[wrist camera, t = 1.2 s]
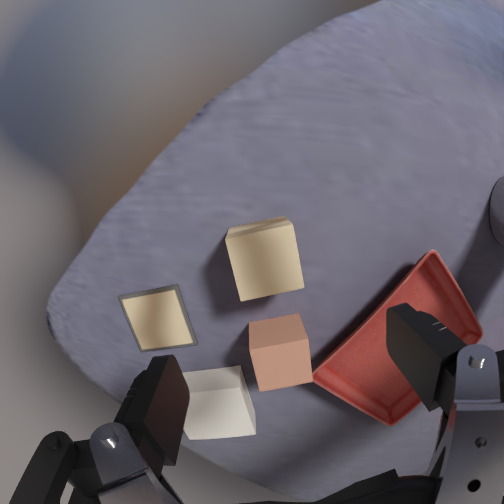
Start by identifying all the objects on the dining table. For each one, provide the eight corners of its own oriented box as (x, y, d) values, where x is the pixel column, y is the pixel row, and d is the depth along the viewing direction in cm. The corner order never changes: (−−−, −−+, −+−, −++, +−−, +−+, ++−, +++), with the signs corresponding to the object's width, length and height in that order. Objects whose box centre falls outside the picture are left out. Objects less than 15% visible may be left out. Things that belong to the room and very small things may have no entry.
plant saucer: (472, 324, 29) (486, 334, 26) (383, 414, 32) (391, 429, 29) (416, 238, 26) (433, 245, 23) (300, 359, 29) (306, 378, 26)
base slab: (240, 363, 29) (239, 387, 25) (255, 411, 31) (255, 434, 27) (172, 372, 29) (164, 394, 26) (194, 417, 31) (189, 439, 27)
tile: (177, 284, 26) (176, 285, 26) (198, 343, 28) (197, 345, 28) (118, 296, 27) (117, 297, 26) (141, 350, 28) (140, 352, 28)
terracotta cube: (298, 312, 28) (308, 338, 23) (303, 352, 29) (312, 381, 24) (248, 322, 28) (249, 349, 23) (258, 361, 29) (259, 391, 24)
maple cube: (284, 215, 25) (292, 224, 20) (294, 268, 26) (304, 287, 22) (229, 228, 25) (224, 239, 20) (241, 279, 27) (240, 301, 22)
